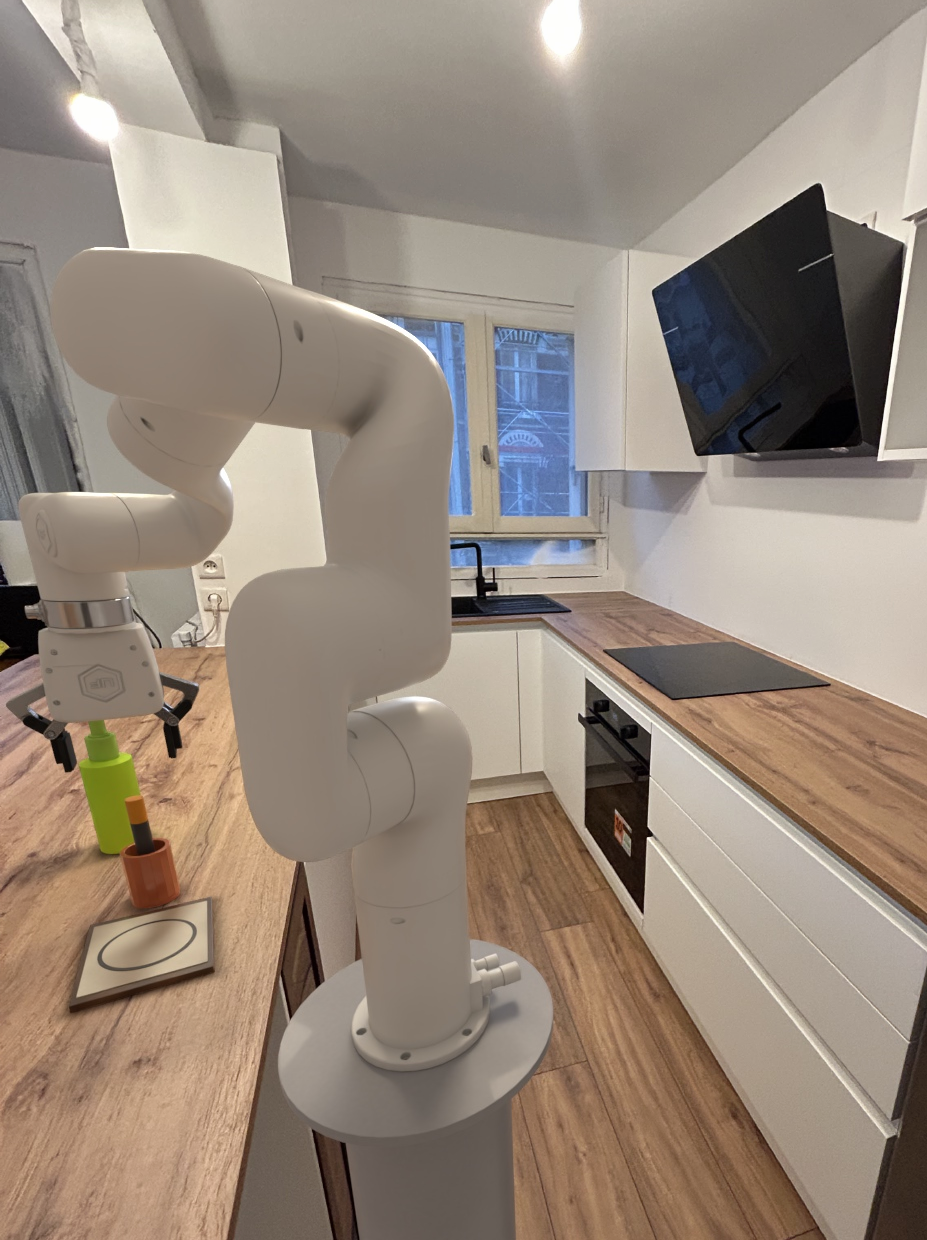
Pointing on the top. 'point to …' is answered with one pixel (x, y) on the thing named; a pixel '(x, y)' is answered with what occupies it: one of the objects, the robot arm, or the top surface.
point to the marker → (139, 825)
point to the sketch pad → (144, 953)
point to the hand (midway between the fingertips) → (124, 761)
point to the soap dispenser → (108, 787)
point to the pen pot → (150, 875)
